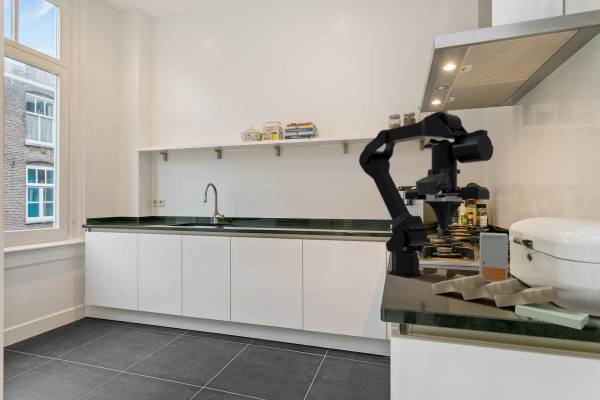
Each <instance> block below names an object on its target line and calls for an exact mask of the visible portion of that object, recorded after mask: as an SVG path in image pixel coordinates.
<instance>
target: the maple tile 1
mask: <svg viewBox="0 0 600 400" xmlns="http://www.w3.org/2000/svg"><path fill="white" fill-rule="evenodd" d="M484 284H487V282H485V279H484V276H483V274H480V275H479V274H477V275H476V274H475V275H469V276H464V277H460V278H458V277H457V278H454V279H448V280H443V281H439V282H436V283H433V284H431V288H432V292H433V294H434V295H439V294H444V293H450V292H456V291H461V290H464V289H471V288H476V287H479V286H482V285H484Z"/></svg>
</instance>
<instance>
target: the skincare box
mask: <svg viewBox="0 0 600 400" xmlns="http://www.w3.org/2000/svg"><path fill="white" fill-rule="evenodd" d="M508 259H509V235H508V234H507V233H500V232H499V233H498V232H497V233H496V232H480V233H479V273H478V275H480V274H483V276H484V279H485V282H486V283H493V282H498V281H504V280H508V273H509V272H508V271H509V270H508V264H509V263H508V262H509V260H508Z"/></svg>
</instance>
